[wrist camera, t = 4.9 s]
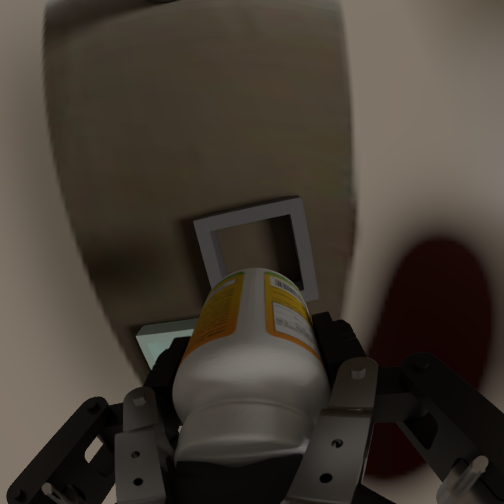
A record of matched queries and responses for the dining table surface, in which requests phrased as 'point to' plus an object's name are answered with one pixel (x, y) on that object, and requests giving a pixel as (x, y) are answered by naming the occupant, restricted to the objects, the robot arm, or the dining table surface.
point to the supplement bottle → (250, 374)
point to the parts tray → (162, 337)
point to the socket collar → (252, 213)
